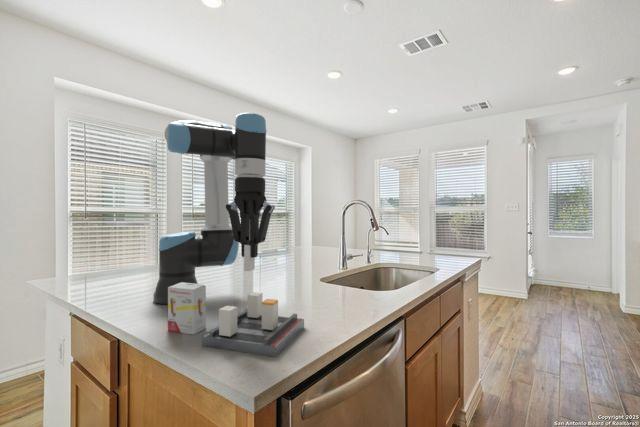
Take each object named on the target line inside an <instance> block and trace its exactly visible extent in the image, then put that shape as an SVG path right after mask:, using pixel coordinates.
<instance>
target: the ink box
mask: <svg viewBox="0 0 640 427" xmlns="http://www.w3.org/2000/svg"><path fill="white" fill-rule="evenodd" d="M206 289H207V287H206V285H205V284H202V283H201V284H200V283H198V284H194V283H184V282H181V283H178V284H175V285H173V286H170V287H168V304H167V331H168V332H172V333H173V332H174V333H180V334H181V333H182V334H188V335H196V334H197V333H199V332H201V331H203V330H205V329H206V327H207V326H206V323H207V322H206V321H207V320H206V319H207V318H206V314H207V313H206V311H207V310H206V306H207V305H206V303H207V301H206V300H207V296H206V294H207V291H206Z"/></svg>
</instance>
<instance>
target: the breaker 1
mask: <svg viewBox="0 0 640 427" xmlns="http://www.w3.org/2000/svg"><path fill="white" fill-rule="evenodd" d="M237 315H238V306H234V305H233V306H232V305H225V306H223V307H221V308H218V326H219V335H222V336H229V337H230V336H232V335H233V334H235V333H236V332H237Z"/></svg>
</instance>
